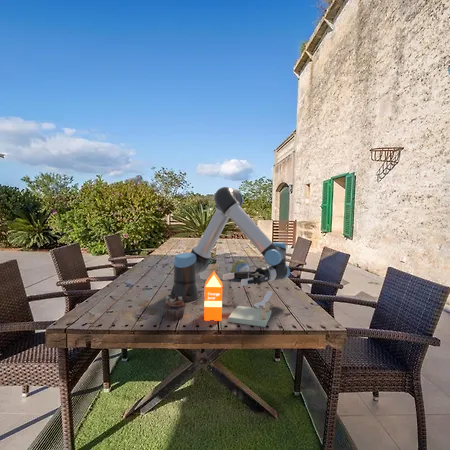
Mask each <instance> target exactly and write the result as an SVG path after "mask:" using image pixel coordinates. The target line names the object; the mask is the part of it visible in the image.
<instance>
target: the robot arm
mask: <svg viewBox="0 0 450 450" xmlns="http://www.w3.org/2000/svg"><path fill="white" fill-rule="evenodd" d="M213 200H214V203H215V206H214V207H215V212H214V213H213V215H212V217H211V218H210V221H209V223H208V225H207V226H206V228H205V230H204V232H203V234H202V236H201V238H200V240H199V242H198V243H197V245H196V246H193V247H192V248H191V251H190V252H183V253H177V254H176V255H175V256H174V258H173V259H174V260H173V285H172V287H171V290H170V294H169V295H173V296H174V294H177V296H181V297H182V300H183V301H184V302H193V301H195V300H198V299H199V290H198V287H197V283H196V280H197V279H196V278H197V277H196V276H197V275H199V274H200V273H203V272H205V271H206V270H207V269H208V268H209V266H210V260H211V257H212V255H211V252H212V250H213V248H214V247H215V244H216V243H217V241H218V240H219V237H220V236H221V234H222V232H223V230H224V228H225V226H226V224H227V223H228V221H229V220H231V221H232V222H233V223H234V224H235V225H236V226H237V228H238V229H239V230H240V232H242V233H243V234H244V236H246V238H247V239H248V240H249V241H250V242H251V244H252V245H253V246H254V247H255V248H256V249H257V251H258V252H259V253H260V254H261V255H262V257H263V258H264V260H265V263H266V264H268V266H263V267H262V266H261V267H257V268H256V269H255V270H254V271H251V270H250V271H239V272H231V273H230V272H229V273H223V274H222V280H223V281H226V280H234V279H240V286H241V287H243V286H249V285H253V284H254V285H256V284H257V285H262V283H267V282H268V283H270V282H272V281H273V282H274V281H279V280H284V279H287V278H289V276H290V274H291V270H290V267H289V266H288V264H287V261H286V260H287V257H286V256H287V244H286V243H285V242H283V241H281V242H279V241H274V242H272V241H271V239H269V237H268V236H267V235H266V234H265V232H263V231H262V229H261V228H260V227H259V226H258V225H257V224H256V223H255V222H254V220H253V219H252V218H251V217H250V216H249V215H248V214H247V212H245V210H244V209H243V208H242V205H243V204H244V197H243V195H242V193H241V192H240V191H239V190H237V189H236V188H232V187H228V186H224V187H220V188H218V189H217V191H215V193H214V199H213ZM173 296H172V297H173Z"/></svg>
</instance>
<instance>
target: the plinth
mask: <svg viewBox="0 0 450 450" xmlns="http://www.w3.org/2000/svg"><path fill="white" fill-rule="evenodd" d="M270 305H271V304H270V302H269V301H268V302H265V308H261V307H260V308H256V307H251V306H250V307H249V306H243V305H241V306H240V305H237V306H236V307H235V309H234V310H233V311H232V312H231V313H230V315H229V316H228V317H227V320H228V321H227V322H229V323H234V324H235V323H236V324H243V325H249V326H255V327H264V328H265V327H267V325H268V322H269V320H270V317H271V316H272V309H270V307H271V306H270Z"/></svg>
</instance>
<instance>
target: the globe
mask: <svg viewBox="0 0 450 450" xmlns="http://www.w3.org/2000/svg"><path fill="white" fill-rule="evenodd" d="M231 266H232V268H231V270H229V273H231V272H239V271H250V272H251V264H250V262H249V261H248V260H246V259H245V260H244V259H238V260H236V261H235V263H233V264H232V265H231Z"/></svg>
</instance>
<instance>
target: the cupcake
mask: <svg viewBox="0 0 450 450" xmlns="http://www.w3.org/2000/svg"><path fill="white" fill-rule="evenodd" d="M172 296H173V295H170V294H168V295H167V296H166V297H165V301H164V304H163V306H162V309H163V313H164V318H165V319H167V320H168V321H178V320H182V319H183V318H184V314H185V309H186V304H185V301H183V300H182V297H181V296H177V294H174V296H173V297H172Z"/></svg>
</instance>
